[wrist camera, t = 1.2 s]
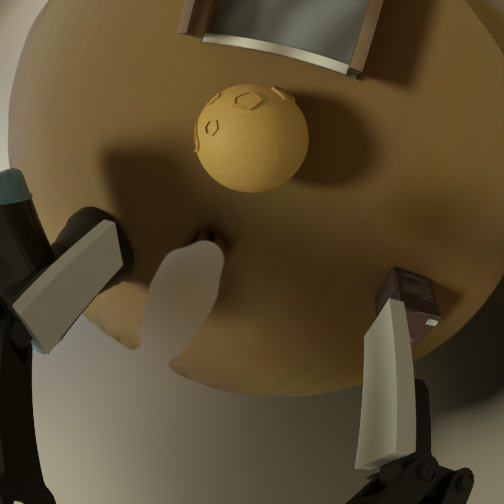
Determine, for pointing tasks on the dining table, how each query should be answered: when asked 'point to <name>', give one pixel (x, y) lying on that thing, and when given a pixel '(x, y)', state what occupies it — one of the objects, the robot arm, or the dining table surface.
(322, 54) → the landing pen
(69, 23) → the dining table surface
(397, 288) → the box
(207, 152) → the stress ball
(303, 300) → the dining table surface
